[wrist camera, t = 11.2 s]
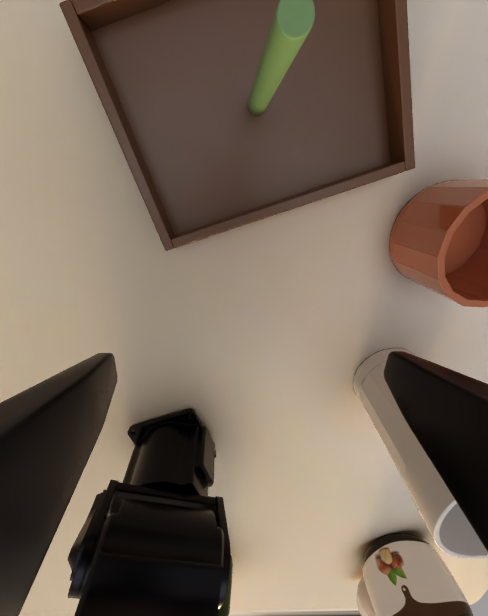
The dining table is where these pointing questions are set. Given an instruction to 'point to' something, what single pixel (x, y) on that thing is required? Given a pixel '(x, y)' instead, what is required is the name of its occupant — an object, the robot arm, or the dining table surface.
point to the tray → (234, 105)
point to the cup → (415, 463)
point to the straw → (280, 49)
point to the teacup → (446, 241)
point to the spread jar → (408, 580)
